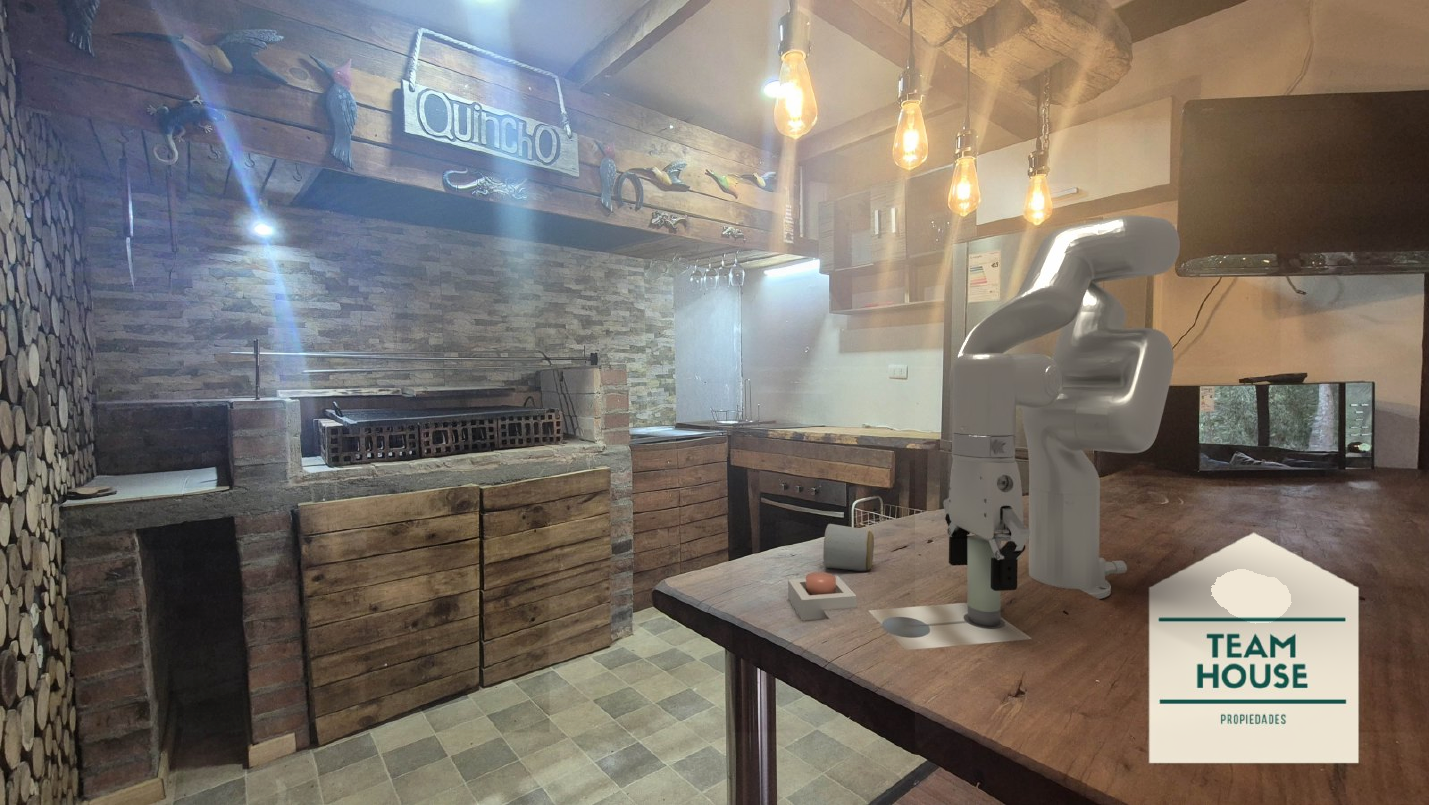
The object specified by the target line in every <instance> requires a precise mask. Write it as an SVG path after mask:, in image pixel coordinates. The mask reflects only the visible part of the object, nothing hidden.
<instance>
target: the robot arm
mask: <svg viewBox="0 0 1429 805" xmlns="http://www.w3.org/2000/svg"><path fill="white" fill-rule="evenodd" d="M1039 245H1040V246H1038V249H1037V251H1036V253H1035V256H1034V258H1033V260H1032V263H1031V264H1030V266H1029V268H1028V270H1027V272H1026V275H1025V277H1024V279H1023V281H1022V282H1021V283H1022V284H1021V285H1020V288H1019V290H1018V292H1017V294H1016V295H1015V296H1014V297H1013V298H1011V299H1009V300H1008V301H1006V302H1005V303H1003V304H1002V305H1000V306H999V307H997V308H996V309H995V310H994V311H992V312H991V313H989V314H988V315H987V316H985V317H984V318H982V320H980V321H979V322H978V323H976V324H975V325H974V326H973V327H972V328H971V329H970V330H969V332H968V333H967V334H966V336H965V337H964V338H963V341H962V342H961V345H960V347H959V349H958V351H957V353H956V355H955V357H954V358H953V362H952V363H951V367H950V370H949V376H948V388H949V391H950V393H951V395H952V415H951V416H952V419H951V420H952V426H951V427H952V428H951V433H952V434H951V435H952V436H951V437H952V438H951V447H952V448H951V457H952V463H951V468H950V469H951V470H950V476H949V477H950V479H949V491H948V498H947V497H946V499H944V500H943V508H944V512H945V518H944V520H945V521H946V524H947V529H946V533H947V535H948V564H949V565H950V566H967V538H968V537H969V536H970V534H972V535H977V536H979V537H981V538H984V539H987V540H989V543H990V545H991V548H992V550H993V553H994V555H995V558H991V589H993V590H994V591H1001V592H1005V591H1007V592H1008V591H1017V588H1018V560H1021V558H1022V553H1024V552H1025V550H1026V544H1027V542H1028V575H1029V576H1030V578H1031V579H1034V580H1035V581H1037V582H1040V583H1042V584H1045V585H1048V586H1052V587H1056V588H1061V589H1068V590H1080V591H1082V592H1084V593H1086V594H1088V595H1089V596H1092V597H1093V598H1096V599H1098V600H1101V599H1105V598H1107V597H1108V596H1110V594H1112V592H1111V591H1112V586H1111V584H1110V582H1109V581H1108V580H1107V579H1106V577H1109V575H1110V574H1114V575H1115V574H1125V573H1127V571H1128V567H1127V564H1126V563H1125V561H1123V560H1111V561H1106V560H1105V558H1104V557H1100V510H1101V509H1100V505H1101V503H1100V502H1101V501H1100V499H1101V498H1100V496H1101V494H1100V493H1101V481H1100V476H1099V474H1098V471H1097V469H1096V467H1095V466H1094V464H1093V463H1092V461H1091V460H1090V458H1089V457H1088V456H1087V455H1086V453H1085V452H1084V451H1095V452H1096V451H1097V452H1106V453H1107V452H1108V453H1110V452H1111V453H1119V454H1139V453H1143V452H1145V451H1147V450H1149V449H1150V448H1151V447H1152V445H1153V444H1154V443H1155V440H1156V438H1157V437H1158V436H1157V435H1158V433H1159V429H1160V426H1161V421H1162V416H1163V413H1164V409H1165V405H1166V400H1167V397H1168V394H1169V388H1170V384H1171V379H1172V376H1173V369H1174V350H1173V346H1172V342H1171V341H1170V339H1169V337H1168V335H1166V334H1165V333H1164V332H1162V331H1161V330H1158V329H1156V328H1149V327H1148V328H1146V327H1132V328H1124V327H1125V322H1126V319H1127V313H1126V309H1125V308H1124V306H1123V304H1122V303H1121V302H1120V301H1119V299H1117V297H1115V296H1114V295H1113V294H1112V293H1111V292H1110V291H1108V290H1107V289H1105V288H1104V287H1102V286H1101V284H1100V283H1102V282H1110V281H1117V280H1118V281H1119V280H1124V279H1125V280H1126V279H1135V278H1142V277H1143V278H1144V277H1150V276H1158V275H1162V274H1164V273H1166V272H1168V271H1169V270H1170V269H1172V267H1174V265H1175V263H1176V262H1177V260H1178V257H1179V255H1180V254H1179V253H1180V248H1181V242H1180V236H1179V233H1178V231H1177V229H1176V227H1175V225H1173V224H1172V222H1170V221H1169V220H1168V219H1165V218H1161V217H1153V216H1148V215H1147V216H1146V215H1136V214H1132V215H1131V214H1128V215H1120V216H1113V217H1109V218H1105V219H1103V218H1102V219H1099V220H1094V221H1093V220H1092V221H1089V222H1083V223H1077V224H1075V225H1074V224H1073V225H1069V226H1066V227H1062V228H1059V229H1056V230H1054V231H1053V232H1051V233H1050V234H1048V235H1047V236H1046V237H1045V238H1044V239H1043V240H1042V241H1041V244H1039ZM1057 330H1060V331H1059V334H1058V337H1057V340H1056V342H1055V346H1054V349H1053V353H1052V355H1051V357H1050V356H1048V355H1046V354H1042V353H1035V352H1027V353H1026V352H1025V353H1006V352H1008V351H1009V350H1010V349H1013V348H1016V347H1017V346H1019V345H1022V344H1025V343H1028V342H1029V341H1030V342H1031V341H1033V340H1036V339H1039V338H1041V337H1043V336H1046V335H1048V334H1051V333H1054V332H1055V331H1057ZM1017 409H1022V413H1021V414H1022V415H1021V416H1022V423H1023V424H1022V425H1023V431H1024V435H1025V440H1026V445H1027V453H1028V454H1027V456H1028V474H1029V475H1028V477H1029V478H1028V479H1029V480H1028V482H1029V483H1028V527H1027V526H1026V525H1025V523H1024V503H1023V491H1022V490H1023V488H1022V480H1021V474H1020V468H1019V465H1018V461H1016V431H1017V430H1016V425H1017V424H1016V421H1017V420H1016V419H1017V417H1016V416H1017ZM999 541H1001V542H1005V544H1004V545H1003V546H1002V544H1001V545H1000V543H999Z"/></svg>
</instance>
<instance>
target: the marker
mask: <svg viewBox="0 0 1429 805" xmlns="http://www.w3.org/2000/svg"><path fill="white" fill-rule="evenodd" d="M968 536H969V537H968V538H967V565H966V566H967V568H966V570H967V577H966V578H967V583H966V584H967V603H968V620H969V621H970V622H972V623H973V624H976V625H979V626H984V627H996V626H999V625H1000V624H1001V618H1002V614H1001V607H1002V605H1001V601H1002V598H1001V597H1002V596H1001V594H1002V591H994V590H993V589H991V558H995V555H994V553H993V550H992V548H991V545H990V543H989V540H987V539H984V538H981V537H979V536H977V535H975V534H972V535H968ZM1001 542H1002V541H999V543H1000V545H1001V546H1002V544H1001Z"/></svg>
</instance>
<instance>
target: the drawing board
mask: <svg viewBox="0 0 1429 805" xmlns="http://www.w3.org/2000/svg"><path fill="white" fill-rule="evenodd" d="M868 612H869V613H870V614H871V615H872V616H873V617H874V619H876V621H877V622H878V623H879V624H880V625H881V626H882V628H883V629H884V630H885V631H886V632H887V633H889V634H890V636H891V637H892V638H893V639H894V640H895V641H896V642H897V643H898V644H899V645H900V646H901V647H902V648H903V649H904V651H912V650H923V649H924V650H925V649H936V648H945V647H947V648H948V647H956V646H957V647H958V646H968V645H969V646H971V645H980V644H981V645H982V644H991V643H1002V642H1014V641H1015V642H1016V641H1027V640H1032V639H1033V638H1032V637H1031V636H1029V635H1028V634H1026V633H1025V632H1023V631H1022V630H1020V629H1018V628H1017V626H1014V625H1013V624H1011V623H1010V622H1009V621H1007V620H1006V619H1004V618H1003V617H1001V624H1000V625H999V626H996V627H984V626H979V625H976V624H973V623H972V622H970V621H969V620H968V602H961V603H960V602H959V603H947V604H933V605H932V604H931V605H918V606H906V607H897V608H896V607H895V608H894V607H892V608H882V609H880V608H879V609H869V610H868Z"/></svg>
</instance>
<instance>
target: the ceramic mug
mask: <svg viewBox="0 0 1429 805" xmlns="http://www.w3.org/2000/svg"><path fill="white" fill-rule="evenodd" d="M874 540H875V539H874V533H873V532H872V531H870V530H868V529H865V528H859V527H852V526H846V525H839V524H834V523H828V524H827V526H826V528H825V532H824V538H823V553H822V554H823V559H822V560H823V565H824V567H825V568H827V569H838V570H850V571H859V572H865V571H867V572H868V571H870V570H871V569H872V567H873V562H874V561H873V560H874V547H875V543H874V542H875V541H874Z"/></svg>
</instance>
